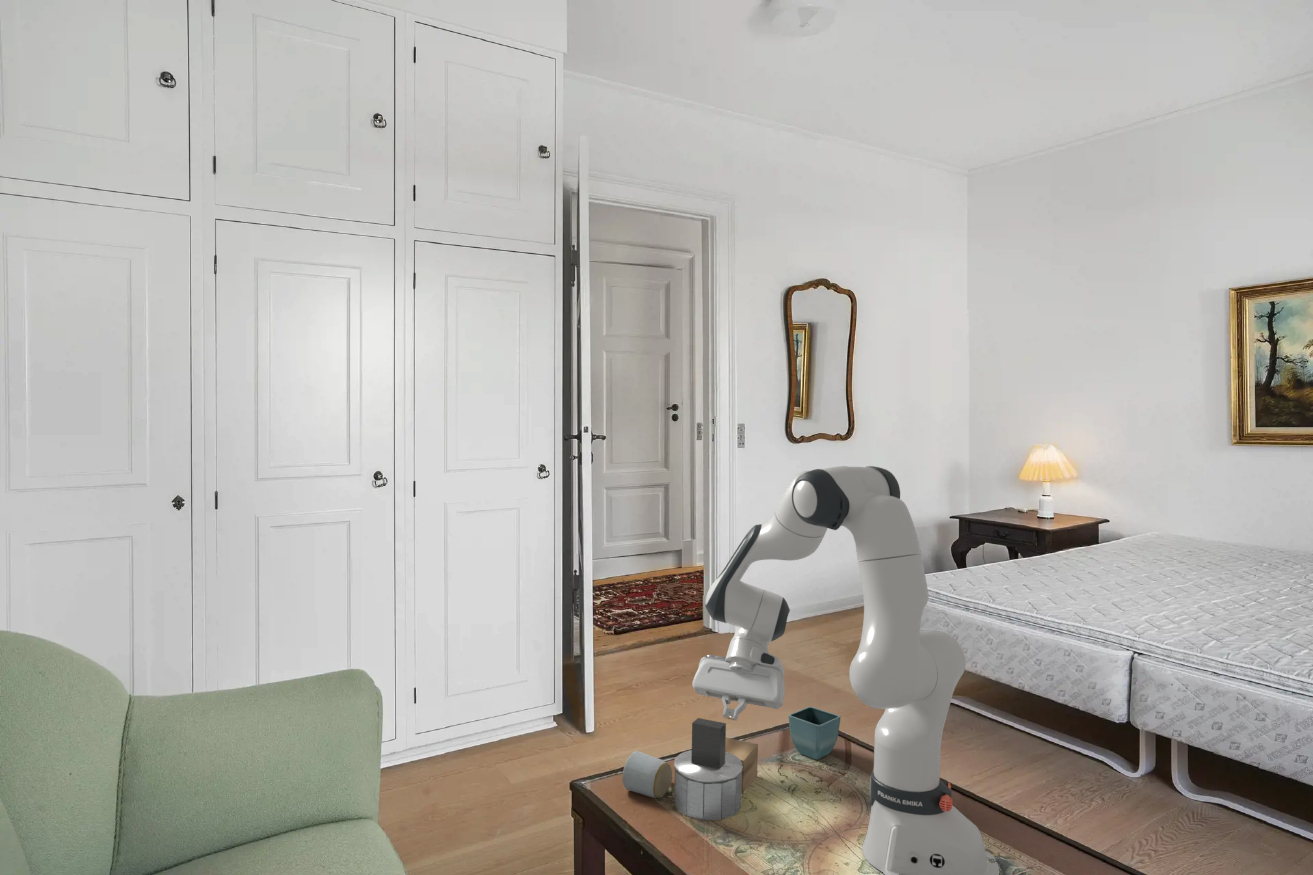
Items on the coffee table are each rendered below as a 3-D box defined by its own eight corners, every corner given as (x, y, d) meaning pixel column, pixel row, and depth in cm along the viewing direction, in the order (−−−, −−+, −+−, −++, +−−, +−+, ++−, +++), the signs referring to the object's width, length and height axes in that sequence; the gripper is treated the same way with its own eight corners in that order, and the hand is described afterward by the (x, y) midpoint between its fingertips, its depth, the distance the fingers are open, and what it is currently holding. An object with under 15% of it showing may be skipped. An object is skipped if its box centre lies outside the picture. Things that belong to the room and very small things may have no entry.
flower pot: (786, 753, 180) (787, 714, 180) (809, 742, 186) (810, 705, 186) (818, 765, 174) (818, 725, 173) (840, 754, 180) (841, 716, 179)
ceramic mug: (655, 805, 154) (656, 767, 154) (621, 795, 158) (622, 757, 158) (681, 785, 163) (682, 749, 163) (647, 776, 168) (648, 740, 168)
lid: (751, 760, 159) (752, 717, 159) (728, 788, 146) (729, 742, 146) (690, 747, 165) (690, 706, 164) (662, 773, 152) (663, 728, 152)
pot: (749, 796, 159) (749, 762, 159) (726, 825, 147) (727, 789, 147) (690, 782, 164) (690, 749, 164) (664, 809, 153) (664, 774, 152)
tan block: (757, 775, 168) (757, 744, 168) (743, 793, 160) (743, 760, 160) (713, 766, 172) (714, 735, 172) (697, 783, 164) (698, 750, 164)
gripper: (699, 646, 178) (680, 702, 169) (786, 660, 169) (772, 720, 161) (705, 660, 182) (688, 716, 173) (791, 674, 173) (777, 734, 165)
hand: (729, 718), depth 167 cm, fingers closed
